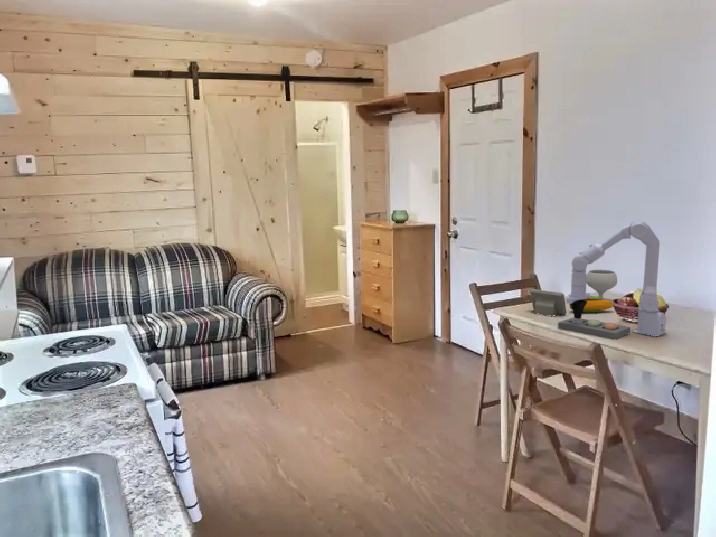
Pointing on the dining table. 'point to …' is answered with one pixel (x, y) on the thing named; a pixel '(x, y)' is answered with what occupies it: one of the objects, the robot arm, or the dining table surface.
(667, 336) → the dining table surface
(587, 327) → the button panel
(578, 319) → the button slate
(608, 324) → the button terracotta
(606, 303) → the corn
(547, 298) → the digital clock
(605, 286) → the chalice
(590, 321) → the button sage
